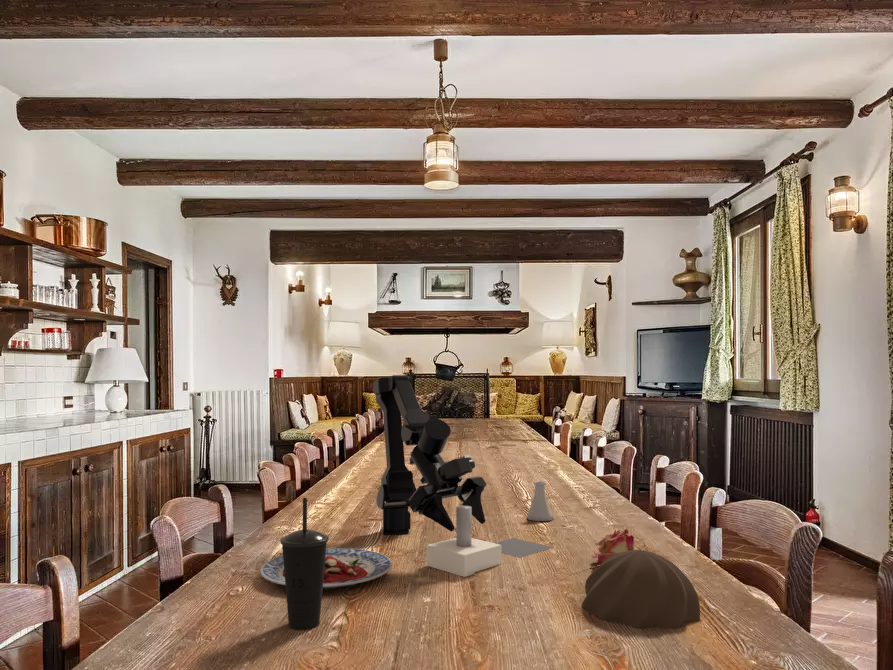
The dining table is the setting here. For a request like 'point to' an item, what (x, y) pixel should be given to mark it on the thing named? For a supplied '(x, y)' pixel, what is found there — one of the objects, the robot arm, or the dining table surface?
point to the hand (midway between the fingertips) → (468, 526)
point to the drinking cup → (304, 574)
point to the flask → (540, 504)
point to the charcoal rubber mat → (520, 547)
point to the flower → (614, 545)
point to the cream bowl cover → (463, 549)
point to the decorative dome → (641, 592)
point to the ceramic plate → (338, 567)
